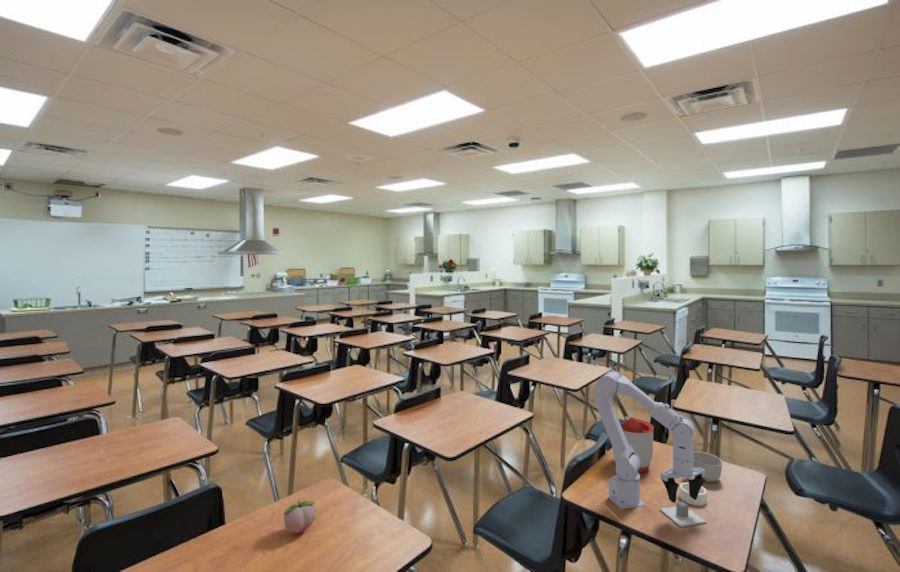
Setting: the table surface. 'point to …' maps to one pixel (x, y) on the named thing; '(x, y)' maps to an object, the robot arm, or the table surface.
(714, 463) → the teacup
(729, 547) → the table surface
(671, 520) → the mat
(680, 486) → the bowl
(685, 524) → the lid
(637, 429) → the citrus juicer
